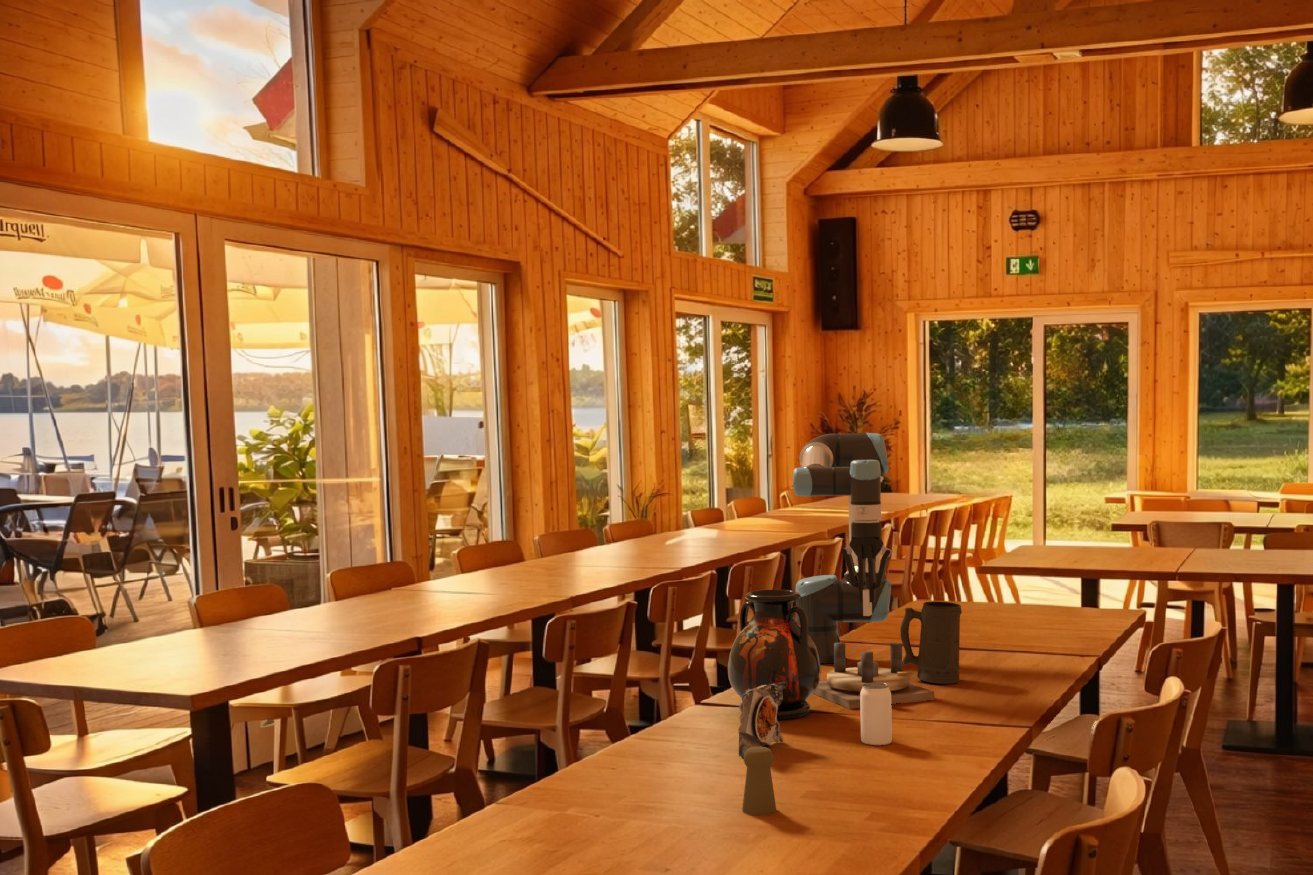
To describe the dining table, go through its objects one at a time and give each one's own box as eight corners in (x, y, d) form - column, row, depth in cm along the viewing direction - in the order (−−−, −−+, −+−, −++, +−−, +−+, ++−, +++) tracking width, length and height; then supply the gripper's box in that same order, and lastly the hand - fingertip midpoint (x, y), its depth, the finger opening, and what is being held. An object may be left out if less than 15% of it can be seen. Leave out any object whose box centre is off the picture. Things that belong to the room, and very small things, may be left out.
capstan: (812, 679, 324) (812, 643, 324) (884, 672, 331) (883, 637, 331) (851, 694, 305) (850, 656, 305) (926, 687, 312) (925, 649, 312)
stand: (805, 690, 325) (804, 680, 325) (885, 682, 333) (885, 673, 333) (849, 708, 303) (849, 699, 303) (934, 699, 311) (934, 690, 311)
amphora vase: (709, 714, 300) (707, 594, 300) (766, 698, 316) (764, 584, 316) (783, 728, 286) (781, 602, 285) (840, 711, 301) (838, 591, 301)
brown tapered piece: (739, 805, 230) (738, 744, 230) (773, 804, 230) (772, 742, 230) (744, 816, 224) (743, 752, 224) (779, 814, 224) (778, 751, 224)
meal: (757, 759, 261) (756, 694, 260) (738, 757, 263) (737, 692, 263) (789, 743, 273) (788, 681, 273) (771, 740, 276) (770, 679, 275)
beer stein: (959, 676, 338) (958, 600, 338) (965, 685, 327) (964, 606, 327) (899, 676, 340) (898, 600, 339) (903, 685, 329) (902, 606, 329)
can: (894, 739, 274) (893, 682, 274) (889, 746, 268) (888, 689, 268) (863, 737, 277) (862, 681, 276) (858, 744, 270) (857, 687, 270)
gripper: (836, 521, 325) (838, 616, 325) (887, 522, 319) (889, 618, 319) (845, 519, 331) (846, 611, 332) (895, 520, 326) (897, 614, 326)
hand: (867, 615), depth 325 cm, fingers closed
